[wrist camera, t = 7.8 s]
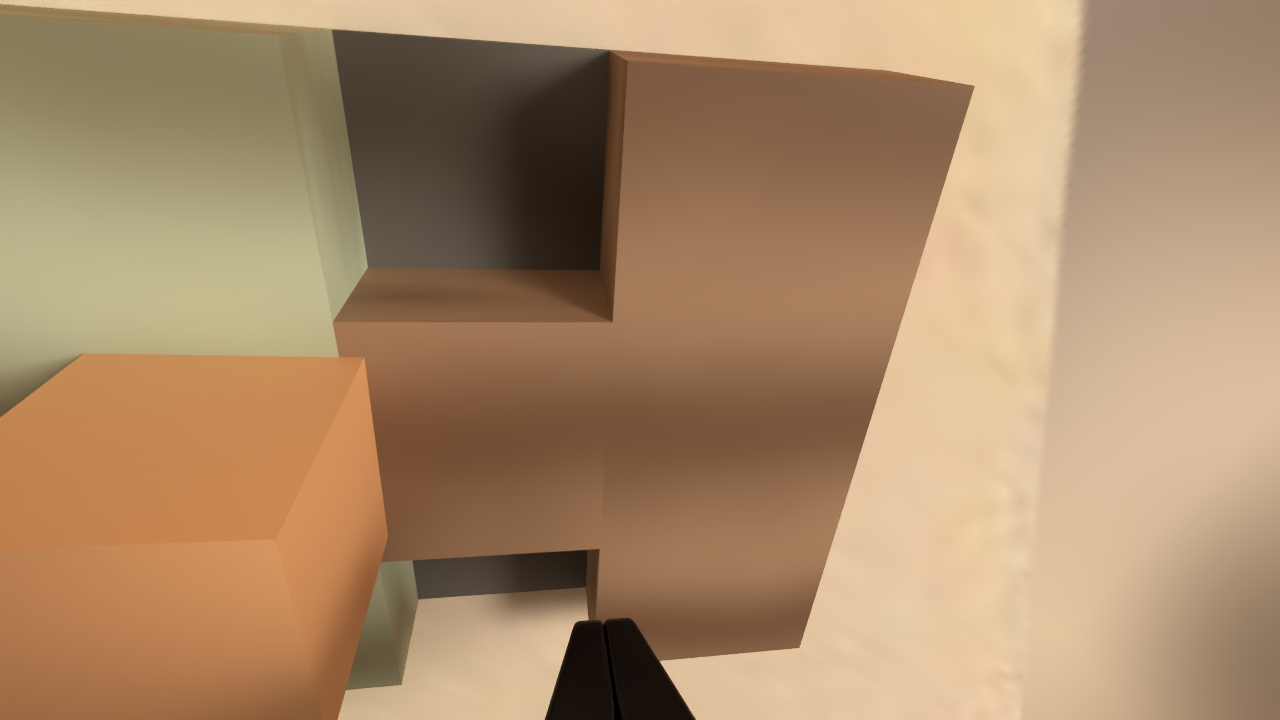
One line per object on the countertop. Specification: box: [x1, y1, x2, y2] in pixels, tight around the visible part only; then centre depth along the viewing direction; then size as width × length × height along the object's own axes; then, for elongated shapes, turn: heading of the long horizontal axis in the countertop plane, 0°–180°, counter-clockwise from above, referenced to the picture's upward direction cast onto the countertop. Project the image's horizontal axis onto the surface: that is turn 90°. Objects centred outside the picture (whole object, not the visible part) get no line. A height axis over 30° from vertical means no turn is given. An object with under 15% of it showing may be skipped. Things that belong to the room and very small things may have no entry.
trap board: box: [0, 4, 974, 690], centre depth 14 cm, size 15×17×3 cm
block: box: [0, 353, 388, 720], centre depth 10 cm, size 4×4×4 cm
